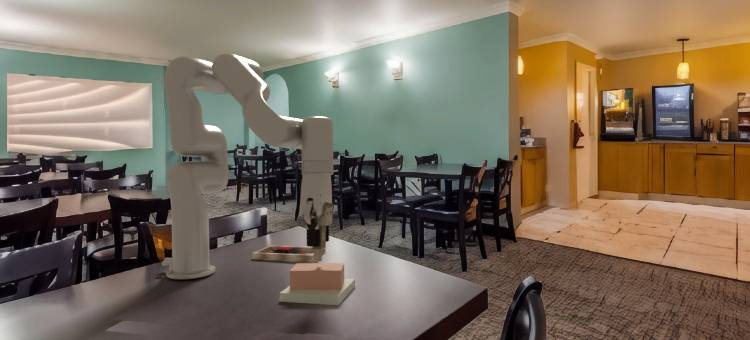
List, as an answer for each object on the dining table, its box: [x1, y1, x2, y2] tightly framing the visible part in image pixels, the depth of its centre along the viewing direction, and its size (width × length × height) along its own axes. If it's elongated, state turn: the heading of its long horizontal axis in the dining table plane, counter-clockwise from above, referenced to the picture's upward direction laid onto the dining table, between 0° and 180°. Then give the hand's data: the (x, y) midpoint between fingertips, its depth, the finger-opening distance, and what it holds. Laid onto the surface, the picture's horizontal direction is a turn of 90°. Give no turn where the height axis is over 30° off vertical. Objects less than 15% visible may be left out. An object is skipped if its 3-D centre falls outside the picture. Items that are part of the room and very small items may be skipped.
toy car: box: [268, 247, 310, 255], centre depth 132 cm, size 6×14×5 cm, turn 65°
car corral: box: [252, 245, 327, 263], centre depth 133 cm, size 20×12×4 cm, turn 78°
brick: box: [289, 262, 345, 290], centre depth 99 cm, size 12×7×4 cm, turn 89°
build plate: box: [279, 277, 356, 306], centre depth 99 cm, size 14×14×2 cm
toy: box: [312, 202, 335, 263], centre depth 100 cm, size 7×7×15 cm
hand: (318, 243), depth 99 cm, fingers closed on toy, 5 cm apart
